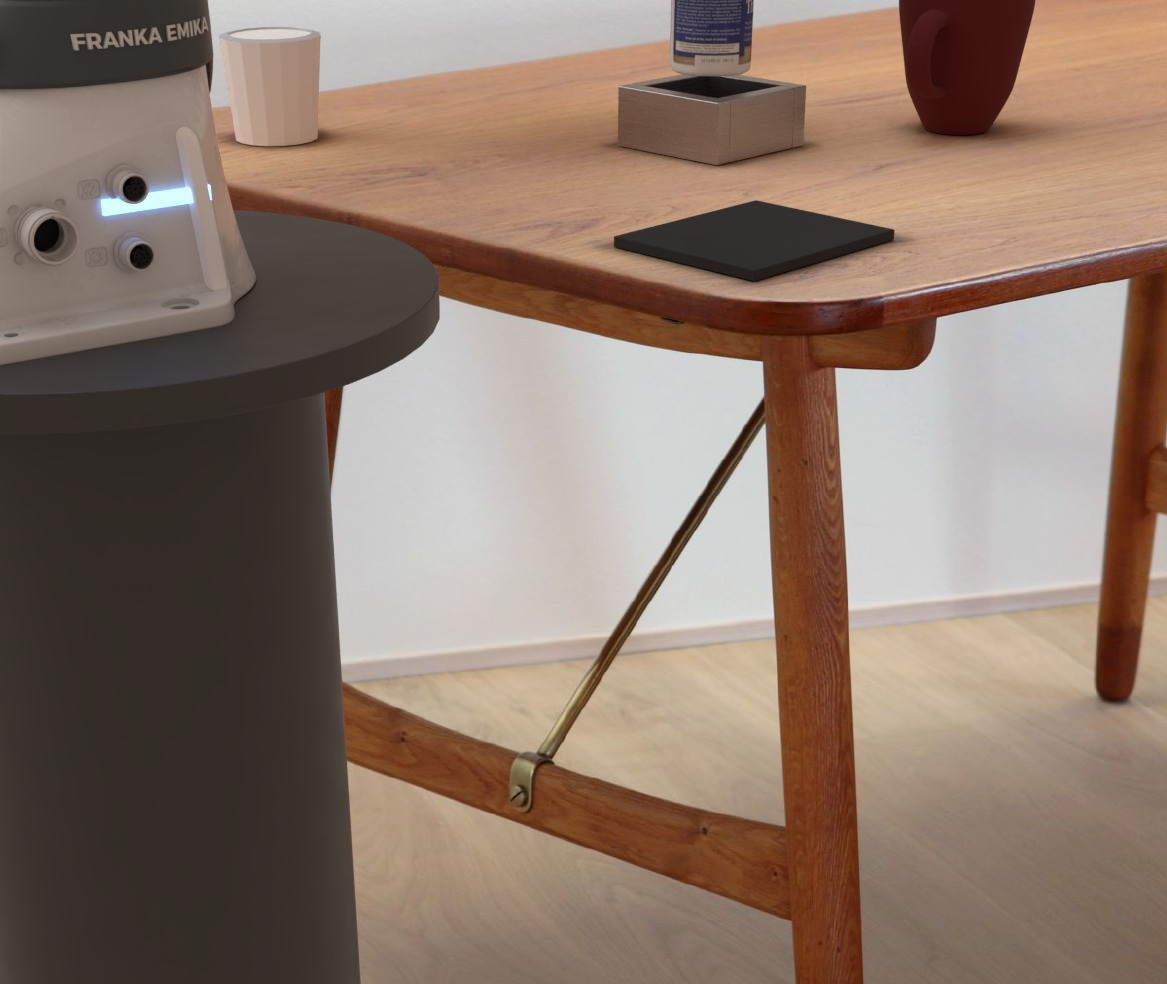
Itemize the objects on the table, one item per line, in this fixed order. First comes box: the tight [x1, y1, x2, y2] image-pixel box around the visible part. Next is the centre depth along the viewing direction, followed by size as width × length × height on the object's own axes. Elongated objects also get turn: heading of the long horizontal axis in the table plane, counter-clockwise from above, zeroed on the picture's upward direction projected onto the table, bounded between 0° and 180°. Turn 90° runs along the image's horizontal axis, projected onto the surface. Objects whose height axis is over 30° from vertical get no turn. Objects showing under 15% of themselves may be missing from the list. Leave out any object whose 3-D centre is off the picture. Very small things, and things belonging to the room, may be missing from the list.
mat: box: [613, 199, 896, 282], centre depth 103 cm, size 12×10×1 cm
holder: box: [617, 74, 807, 166], centre depth 126 cm, size 9×9×4 cm
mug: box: [898, 0, 1036, 136], centre depth 128 cm, size 12×9×11 cm
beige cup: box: [218, 26, 322, 147], centre depth 128 cm, size 7×7×7 cm
